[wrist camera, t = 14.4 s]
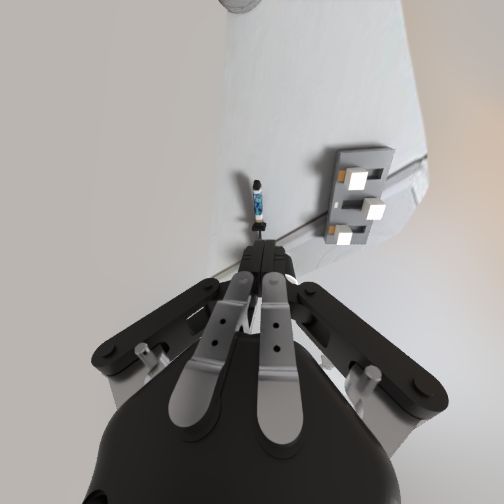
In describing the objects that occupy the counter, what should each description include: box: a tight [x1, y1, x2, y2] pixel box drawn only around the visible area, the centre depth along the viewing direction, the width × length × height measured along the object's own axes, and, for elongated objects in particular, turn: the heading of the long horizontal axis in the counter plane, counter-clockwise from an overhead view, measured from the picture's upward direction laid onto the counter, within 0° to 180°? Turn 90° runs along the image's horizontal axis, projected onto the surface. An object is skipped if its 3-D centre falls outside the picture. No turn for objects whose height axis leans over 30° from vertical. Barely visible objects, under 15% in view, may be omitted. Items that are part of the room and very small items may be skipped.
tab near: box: [344, 167, 368, 190], centre depth 36 cm, size 3×3×5 cm
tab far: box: [334, 225, 352, 245], centre depth 43 cm, size 3×3×5 cm
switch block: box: [324, 147, 395, 244], centre depth 41 cm, size 20×9×3 cm, turn 5°
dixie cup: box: [285, 252, 298, 285], centre depth 51 cm, size 8×8×11 cm
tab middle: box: [361, 198, 386, 220], centre depth 39 cm, size 3×3×5 cm
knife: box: [252, 180, 266, 240], centre depth 50 cm, size 31×3×4 cm, turn 0°
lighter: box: [319, 355, 334, 370], centre depth 81 cm, size 7×2×8 cm, turn 98°
